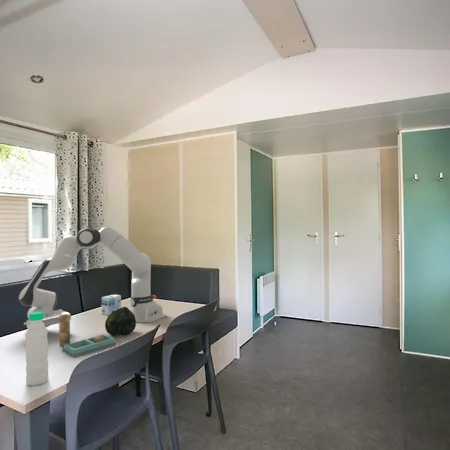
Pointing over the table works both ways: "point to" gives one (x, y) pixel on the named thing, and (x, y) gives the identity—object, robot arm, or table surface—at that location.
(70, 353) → the housing plate
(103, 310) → the light bulb box
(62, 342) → the oak post
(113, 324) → the squash
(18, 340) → the table surface
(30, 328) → the water bottle
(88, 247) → the robot arm
